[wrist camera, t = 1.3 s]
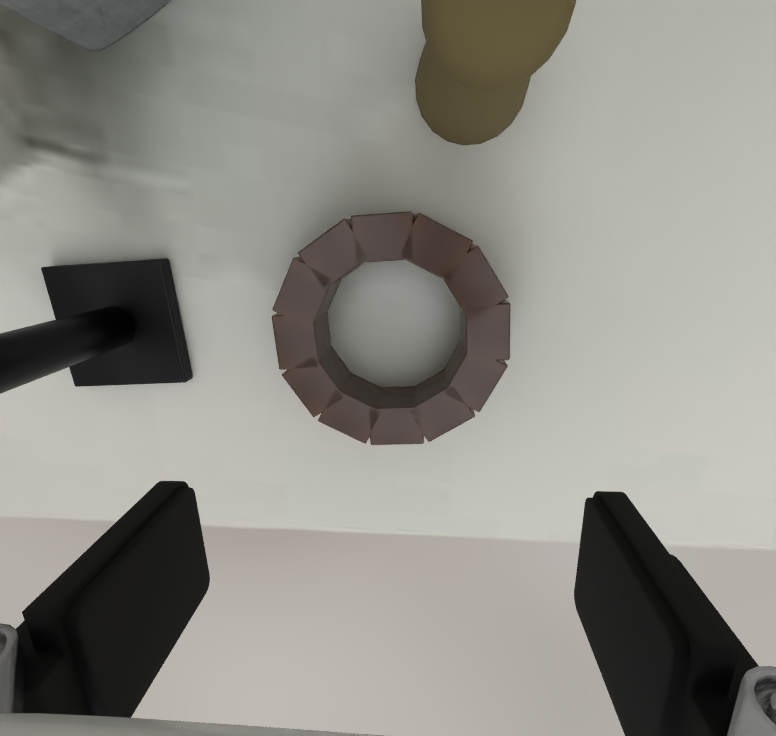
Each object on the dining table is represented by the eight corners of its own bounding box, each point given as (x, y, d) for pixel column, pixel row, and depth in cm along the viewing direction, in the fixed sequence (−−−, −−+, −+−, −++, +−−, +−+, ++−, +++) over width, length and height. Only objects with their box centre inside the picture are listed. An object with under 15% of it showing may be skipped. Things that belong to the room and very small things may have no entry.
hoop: (500, 206, 26) (511, 203, 23) (499, 417, 30) (508, 442, 26) (278, 223, 27) (257, 222, 24) (305, 423, 31) (290, 447, 28)
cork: (472, 169, 26) (504, 129, 15) (392, 91, 25) (367, -8, 14) (552, 75, 24) (651, -44, 13) (469, -12, 23) (505, -210, 13)
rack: (169, 258, 29) (-58, 285, 15) (193, 377, 31) (15, 492, 18) (52, 266, 29) (-260, 298, 16) (85, 382, 32) (-164, 494, 18)
